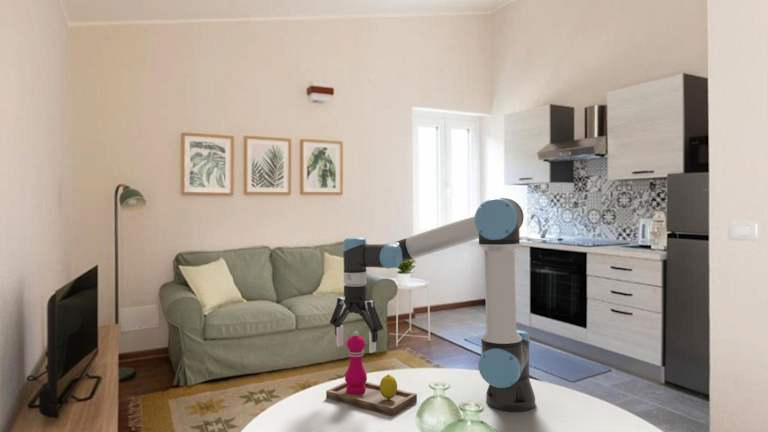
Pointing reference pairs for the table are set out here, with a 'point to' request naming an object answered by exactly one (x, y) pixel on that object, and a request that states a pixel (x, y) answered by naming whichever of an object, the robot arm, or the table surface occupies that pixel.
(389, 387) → the lemon
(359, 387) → the pepper mill
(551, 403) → the table surface
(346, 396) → the walnut tray
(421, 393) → the table surface
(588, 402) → the table surface
